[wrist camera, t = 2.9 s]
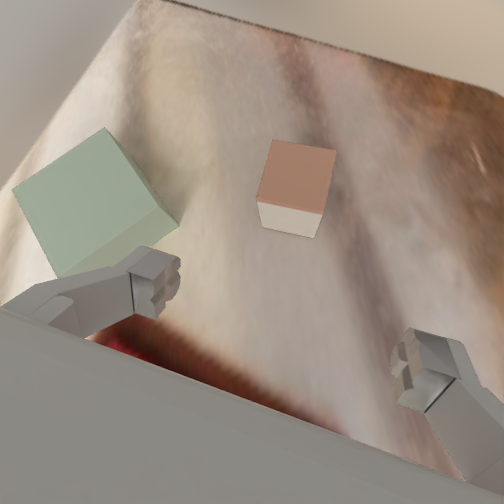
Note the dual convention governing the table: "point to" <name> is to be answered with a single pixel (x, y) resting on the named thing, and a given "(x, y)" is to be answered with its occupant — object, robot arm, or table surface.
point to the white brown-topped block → (295, 187)
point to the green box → (92, 207)
